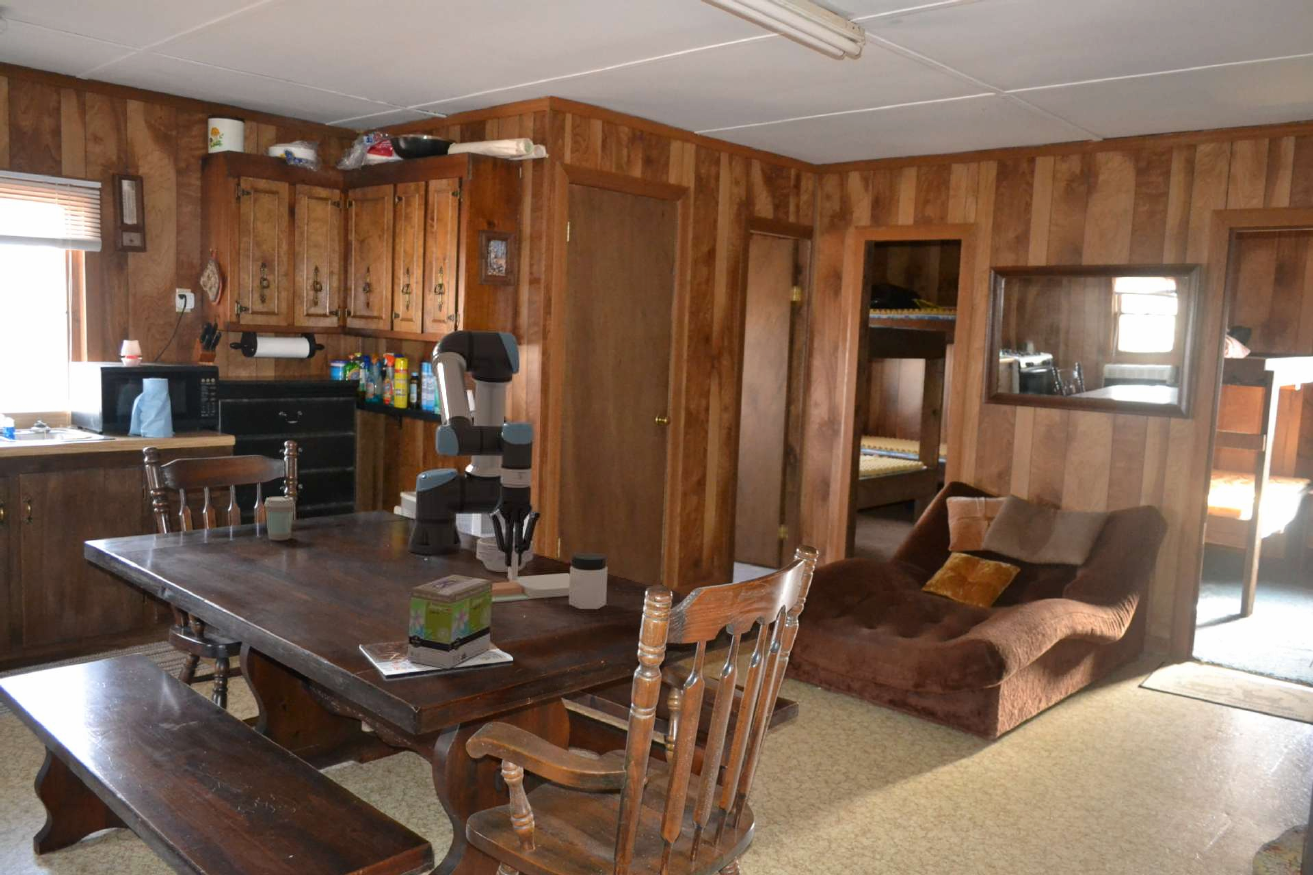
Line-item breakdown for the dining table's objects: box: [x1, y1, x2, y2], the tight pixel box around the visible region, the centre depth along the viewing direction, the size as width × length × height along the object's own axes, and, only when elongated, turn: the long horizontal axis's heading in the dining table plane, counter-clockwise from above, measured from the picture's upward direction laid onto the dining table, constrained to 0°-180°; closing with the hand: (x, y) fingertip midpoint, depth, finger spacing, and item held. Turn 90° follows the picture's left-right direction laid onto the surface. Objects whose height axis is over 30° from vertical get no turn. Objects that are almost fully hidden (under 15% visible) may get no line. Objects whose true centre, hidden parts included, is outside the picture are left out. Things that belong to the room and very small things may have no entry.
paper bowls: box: [476, 535, 534, 573], centre depth 281 cm, size 15×15×8 cm
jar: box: [568, 552, 608, 610], centre depth 248 cm, size 9×8×12 cm
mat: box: [492, 593, 531, 604], centre depth 254 cm, size 15×15×1 cm
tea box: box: [407, 574, 493, 670], centre depth 205 cm, size 15×10×15 cm, turn 158°
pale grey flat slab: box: [509, 572, 570, 600], centre depth 261 cm, size 14×16×2 cm
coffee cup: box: [263, 496, 296, 541], centre depth 304 cm, size 8×9×12 cm
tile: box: [492, 581, 523, 596], centre depth 255 cm, size 6×9×2 cm, turn 119°
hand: (512, 578), depth 256 cm, fingers closed
